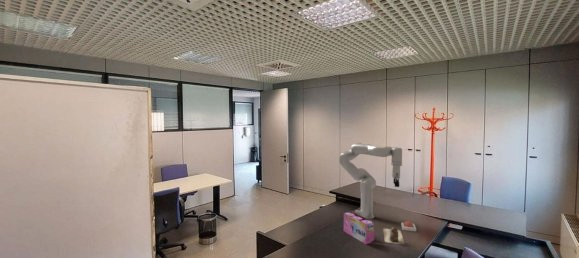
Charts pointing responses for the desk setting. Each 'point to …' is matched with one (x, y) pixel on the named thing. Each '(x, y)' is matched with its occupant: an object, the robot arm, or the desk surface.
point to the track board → (387, 236)
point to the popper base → (408, 227)
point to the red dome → (408, 224)
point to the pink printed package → (359, 227)
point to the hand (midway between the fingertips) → (396, 185)
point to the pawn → (394, 234)
